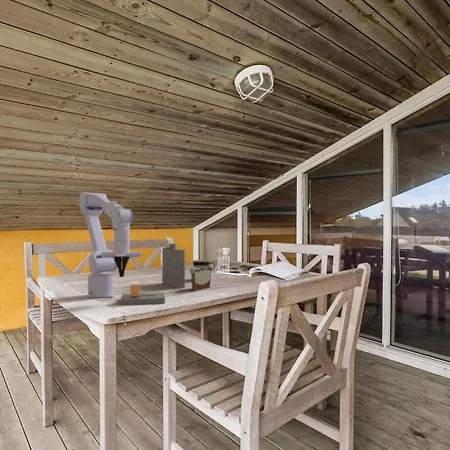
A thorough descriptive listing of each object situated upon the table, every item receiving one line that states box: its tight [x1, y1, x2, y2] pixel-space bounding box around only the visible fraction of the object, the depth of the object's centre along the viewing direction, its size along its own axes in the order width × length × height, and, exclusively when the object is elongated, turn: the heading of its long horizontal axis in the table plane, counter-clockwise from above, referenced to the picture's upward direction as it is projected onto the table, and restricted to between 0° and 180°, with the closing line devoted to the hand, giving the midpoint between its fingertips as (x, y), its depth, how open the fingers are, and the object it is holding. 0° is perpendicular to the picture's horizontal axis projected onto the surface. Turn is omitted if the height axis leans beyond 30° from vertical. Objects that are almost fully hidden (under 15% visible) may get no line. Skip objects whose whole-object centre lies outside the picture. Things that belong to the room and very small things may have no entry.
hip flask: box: [161, 243, 186, 289], centre depth 165 cm, size 16×4×20 cm, turn 44°
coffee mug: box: [192, 259, 216, 271], centre depth 182 cm, size 12×9×10 cm
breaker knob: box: [130, 280, 140, 297], centre depth 134 cm, size 3×5×5 cm, turn 12°
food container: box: [189, 265, 213, 292], centre depth 159 cm, size 12×6×10 cm, turn 141°
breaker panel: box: [120, 291, 166, 306], centre depth 134 cm, size 16×10×2 cm, turn 102°
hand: (121, 276), depth 132 cm, fingers closed
